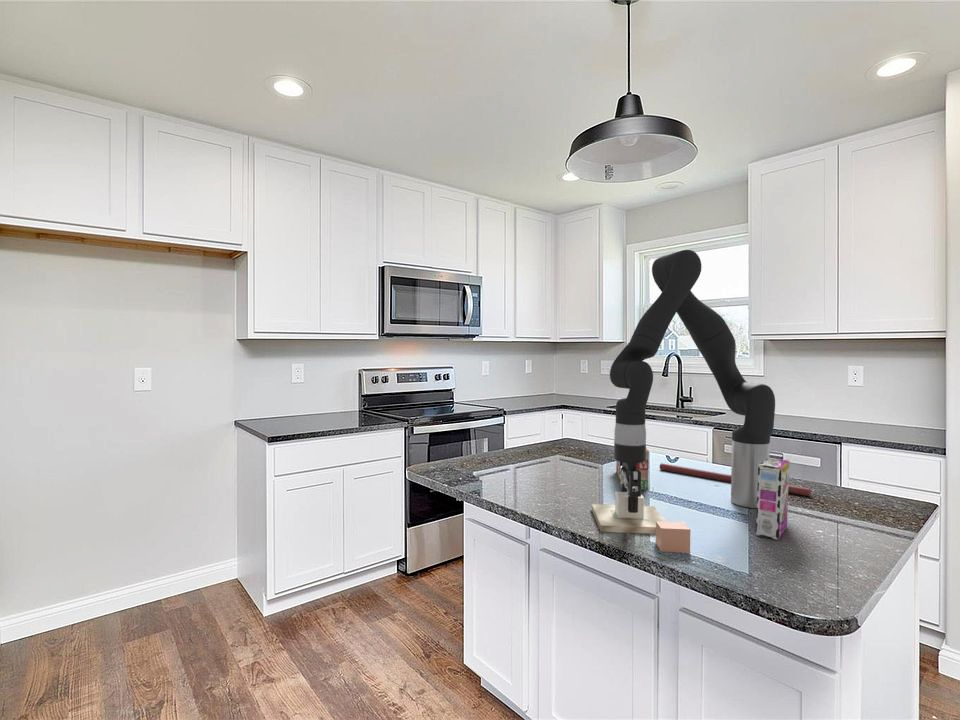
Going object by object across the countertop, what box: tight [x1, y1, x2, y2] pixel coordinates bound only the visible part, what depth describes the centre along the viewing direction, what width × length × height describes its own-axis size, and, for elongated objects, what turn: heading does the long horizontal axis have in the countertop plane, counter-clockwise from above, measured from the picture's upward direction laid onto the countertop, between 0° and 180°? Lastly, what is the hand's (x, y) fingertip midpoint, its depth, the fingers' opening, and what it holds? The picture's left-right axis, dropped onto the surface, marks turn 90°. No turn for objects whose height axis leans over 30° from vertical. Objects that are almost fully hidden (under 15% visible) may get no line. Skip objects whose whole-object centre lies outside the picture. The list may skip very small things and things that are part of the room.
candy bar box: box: [755, 457, 790, 541], centre depth 120 cm, size 11×5×16 cm, turn 141°
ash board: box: [591, 503, 668, 535], centre depth 127 cm, size 16×16×2 cm
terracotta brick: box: [655, 520, 691, 554], centre depth 110 cm, size 6×4×5 cm
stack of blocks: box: [615, 447, 650, 491], centre depth 166 cm, size 21×6×12 cm, turn 174°
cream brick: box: [614, 491, 645, 518], centre depth 127 cm, size 6×4×5 cm
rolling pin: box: [659, 462, 812, 497], centre depth 164 cm, size 45×3×3 cm, turn 46°
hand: (629, 506), depth 127 cm, fingers open, 8 cm apart
